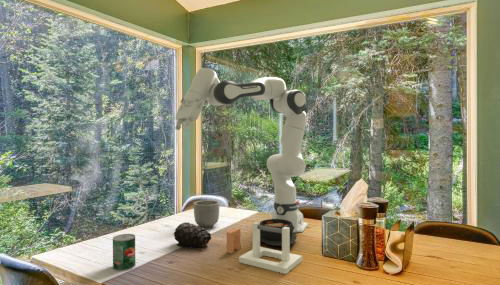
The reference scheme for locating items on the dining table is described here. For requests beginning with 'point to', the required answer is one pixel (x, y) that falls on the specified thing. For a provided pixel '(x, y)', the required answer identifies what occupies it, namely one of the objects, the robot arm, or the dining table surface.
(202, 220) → the planter
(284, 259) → the toilet paper holder
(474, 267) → the dining table surface
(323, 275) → the dining table surface
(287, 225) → the casserole
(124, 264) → the canned tomato
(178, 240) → the pine cone
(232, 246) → the orange block
